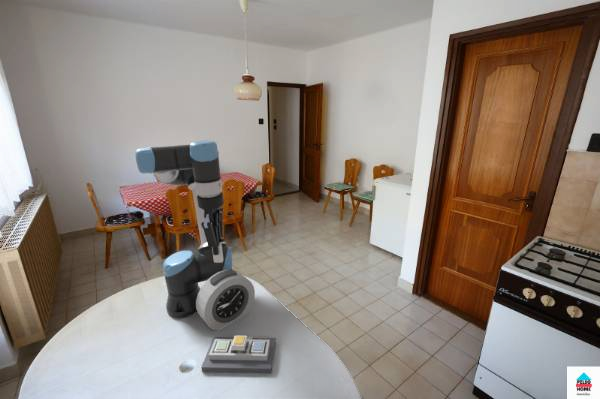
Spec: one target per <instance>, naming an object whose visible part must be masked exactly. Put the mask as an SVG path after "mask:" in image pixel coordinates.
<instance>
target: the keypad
mask: <svg viewBox="0 0 600 399" xmlns="http://www.w3.org/2000/svg"><path fill="white" fill-rule="evenodd" d="M233 339H234V337H233V336H214V337H213V338H212V340H211V342H210V345H209V348H208V350H207V352H206V356H204V357H205V358H204V359H203V361H202V365H201V373H233V374H234V373H235V374H236V373H238V374H242V373H243V374H272V371H273V366H274V365H273V364H274V358H275V351H276V345H277V338H276V337H253V336H247V343H246V347H245V350H232V342H233ZM218 341H230V348H229V351H228V353H214V350H215V347H216V345H217V342H218ZM253 342H265V351H264V354H252V353H251V349H252V344H253Z"/></svg>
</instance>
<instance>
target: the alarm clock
mask: <svg viewBox="0 0 600 399" xmlns="http://www.w3.org/2000/svg"><path fill="white" fill-rule="evenodd" d="M255 294H256V293H255V287H254V284H253V283H252V281H251V280H249V279H248V278H247V277H246V276H244V275H243V274H242V273H241V272H239V271H238V270H235V269H232V270H224V271H220V272H218V273H216V274H214V275H213V276H211V277H210V278H209V279H208V280H207V281H204V283H203V285H201V287H200V291H199V293H198V295H197V299H196V309H197V313H198V315H199V316H200V318H201V319H202V320H203V322H204V323H205V324H206V325H207V326H208V327H209V328H210V329H212V330H215V331H219V330H221V329H223V328H225V327H226V326H228V325H230V324H232V323H234V322H235V321H237V320H238V319H240V318H242V317H245V315H247V314H248V313H249V312H250V311H251V309H252V306H253V304H254V301H255V296H256V295H255Z"/></svg>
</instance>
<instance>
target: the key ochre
mask: <svg viewBox="0 0 600 399" xmlns="http://www.w3.org/2000/svg"><path fill="white" fill-rule="evenodd" d="M247 337H248V336H247V335H234V339H233V342H232V350H245V347H246V343H247Z"/></svg>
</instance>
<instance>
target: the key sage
mask: <svg viewBox="0 0 600 399" xmlns="http://www.w3.org/2000/svg"><path fill="white" fill-rule="evenodd" d="M229 348H230V341H218V342H217V345H216V347H215V350H214V353H228V351H229Z"/></svg>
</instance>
